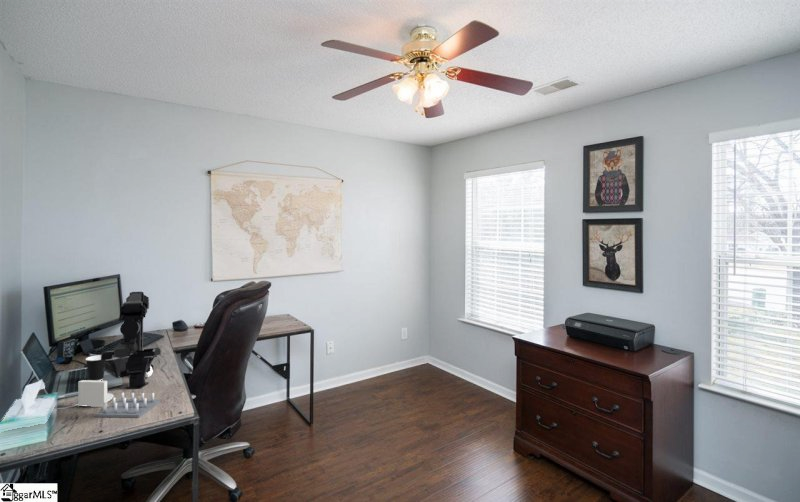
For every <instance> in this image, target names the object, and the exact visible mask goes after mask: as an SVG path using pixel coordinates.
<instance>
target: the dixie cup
mask: <svg viewBox="0 0 800 502" xmlns="http://www.w3.org/2000/svg"><path fill="white" fill-rule="evenodd" d="M101 355H102V354H97V355H96V354H95V355H92V356H88V357H86V358H85V362H86V369H87V375H88V380H98V381H101V380H102V381H104V380H103V379H104V376H105V369H106V368H105V363H106V362H105V360H101Z"/></svg>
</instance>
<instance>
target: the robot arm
mask: <svg viewBox="0 0 800 502" xmlns="http://www.w3.org/2000/svg"><path fill="white" fill-rule="evenodd" d="M149 308H150V298H149V296H147V295H146V294H145V293H144V292H143V291H131V292H129V295H128V297H126V299H125V301H124V302H123V304H122V305H121V306H120V309H119V317H118V321H120V322H121V321H123V323H122V324H121V325H120V328H119V332H120V333H121V334H122V338H121V339H120V343H119V344H117V346H115V347H114V348H113V350H107V351H103V352H102V353H101V354H100V355H101V360H105V362H108V363H109V364H110V365H111V366H112V368H113V370H114V373H115V374H114V373H113V374H114V375H115V378H117V379H118V378H120V377H119V375H120V365H121V358H126V357H128V361H126V375H129V374H130V375H129V380H128V381H129V383H128V385H126V387H125V388H126V389H142V388H143V387H145V386H147V385H148V384H149V381H146V377H145V374H146V372H147V373H148V372H149V371H150V364H152V362H153V360H154V359H155V358H157V356H160V355H161V348H160V347H148V348H144V318H146V314H147V313H148V310H149Z"/></svg>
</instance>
